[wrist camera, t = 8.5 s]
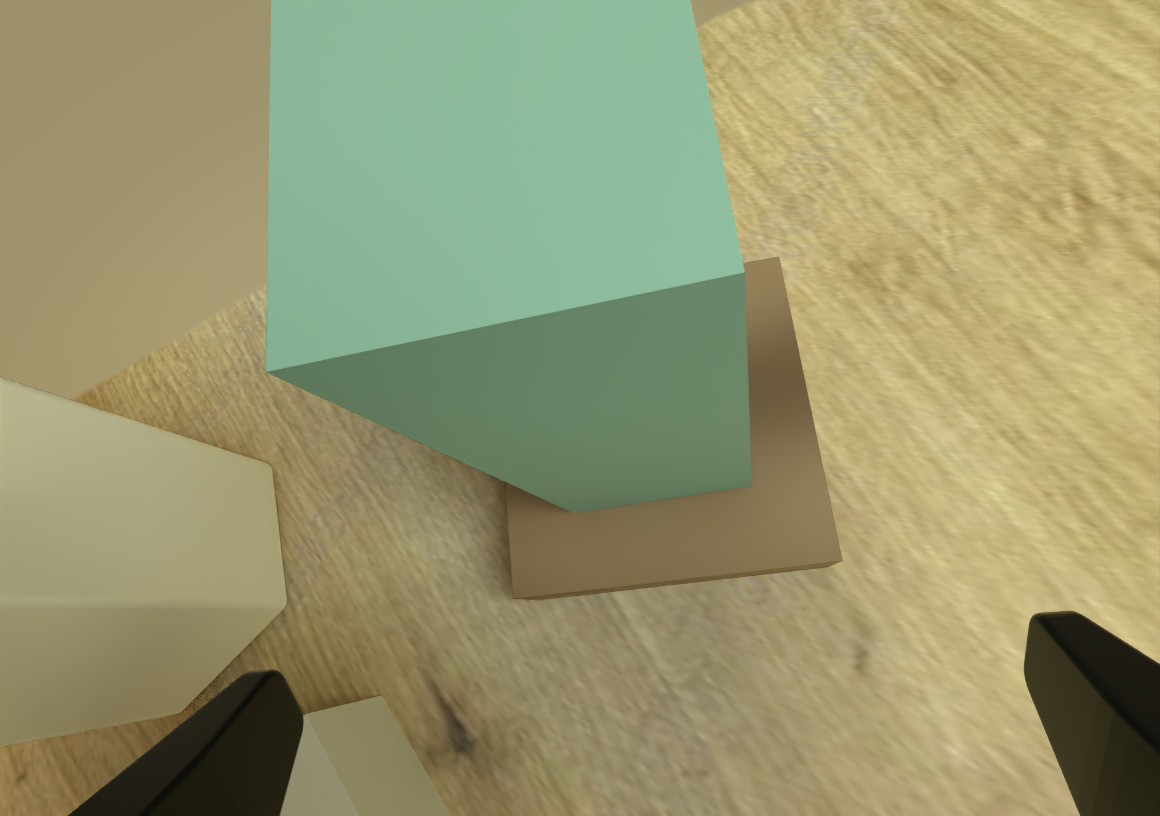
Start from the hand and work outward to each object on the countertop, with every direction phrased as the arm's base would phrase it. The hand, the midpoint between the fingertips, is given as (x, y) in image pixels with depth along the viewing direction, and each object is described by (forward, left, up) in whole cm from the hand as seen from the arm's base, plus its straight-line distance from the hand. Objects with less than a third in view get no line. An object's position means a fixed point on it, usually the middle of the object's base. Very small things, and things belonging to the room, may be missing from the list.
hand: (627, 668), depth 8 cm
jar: (+9, +14, -11) cm, 20 cm away
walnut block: (+5, -2, -12) cm, 13 cm away
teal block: (+5, -2, -9) cm, 10 cm away
